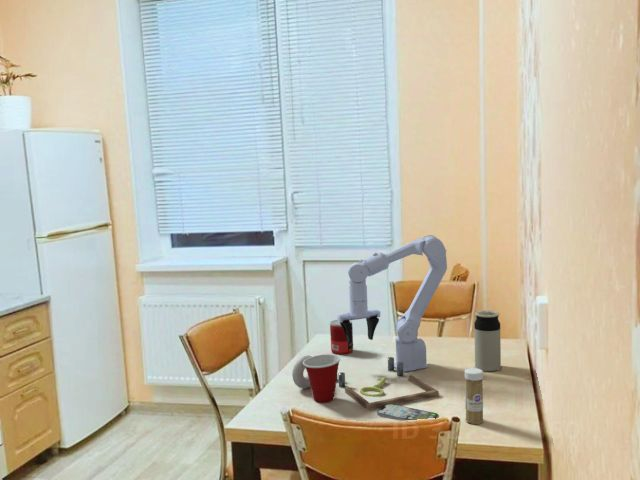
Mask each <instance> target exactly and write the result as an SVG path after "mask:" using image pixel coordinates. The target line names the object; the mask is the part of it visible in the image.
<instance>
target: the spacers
mask: <svg viewBox="0 0 640 480" xmlns="http://www.w3.org/2000/svg"><path fill="white" fill-rule="evenodd" d="M394 363H395V358H394V356H393V357H392V356H388V357H387V371H389V372H394V371H395V367H394ZM396 376H397V377H403V376H404V372H403V363H402V362H398V363H397V368H396ZM337 381H338V387H339V388H345V387H346V373H345V372H337Z"/></svg>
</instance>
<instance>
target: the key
mask: <svg viewBox="0 0 640 480" xmlns="http://www.w3.org/2000/svg"><path fill="white" fill-rule="evenodd" d="M376 380H377V381H378V383H377V384H374V385H373V386H365V387H362V388H360V389H359V393H360V395H362V396H366V397H372V398H373V397H374V398H376V397H382V396H384V394H385V392H384V389H382V388H381V387H382V386H383V385H384V384H385V383H386V382H387V380H388V378H387V376H383V377H377V379H376ZM366 391H367V392H368V391H369V392H370V391H371V392H378V393H375V394H374V393H367V392H366Z"/></svg>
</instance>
